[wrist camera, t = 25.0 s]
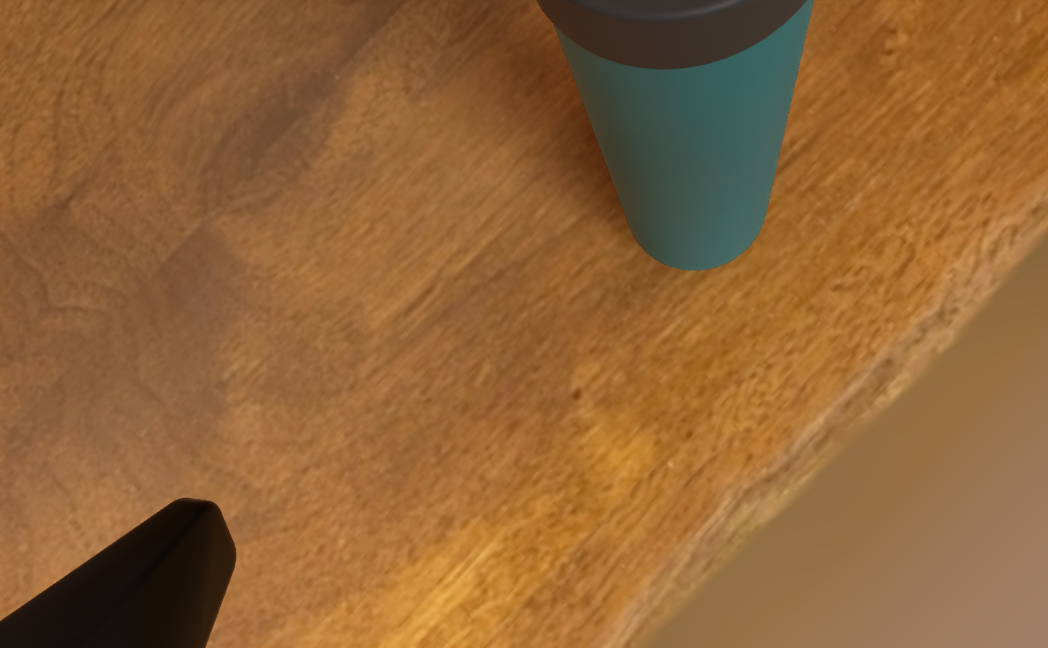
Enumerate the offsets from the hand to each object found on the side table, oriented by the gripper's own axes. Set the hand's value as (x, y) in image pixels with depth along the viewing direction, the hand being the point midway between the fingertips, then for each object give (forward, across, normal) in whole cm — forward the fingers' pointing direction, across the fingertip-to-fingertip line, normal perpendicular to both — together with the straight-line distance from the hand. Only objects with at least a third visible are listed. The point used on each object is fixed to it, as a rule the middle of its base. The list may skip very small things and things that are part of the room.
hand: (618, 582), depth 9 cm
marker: (+14, 0, +4) cm, 14 cm away
